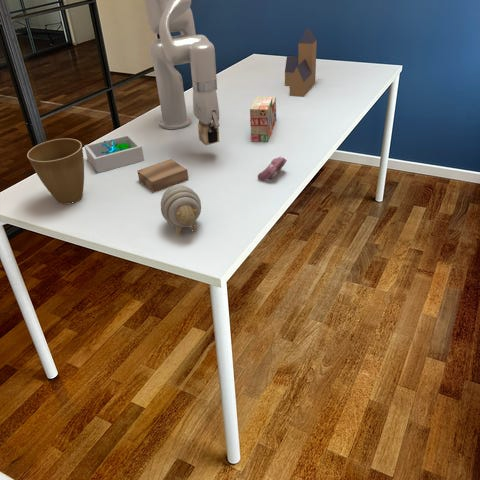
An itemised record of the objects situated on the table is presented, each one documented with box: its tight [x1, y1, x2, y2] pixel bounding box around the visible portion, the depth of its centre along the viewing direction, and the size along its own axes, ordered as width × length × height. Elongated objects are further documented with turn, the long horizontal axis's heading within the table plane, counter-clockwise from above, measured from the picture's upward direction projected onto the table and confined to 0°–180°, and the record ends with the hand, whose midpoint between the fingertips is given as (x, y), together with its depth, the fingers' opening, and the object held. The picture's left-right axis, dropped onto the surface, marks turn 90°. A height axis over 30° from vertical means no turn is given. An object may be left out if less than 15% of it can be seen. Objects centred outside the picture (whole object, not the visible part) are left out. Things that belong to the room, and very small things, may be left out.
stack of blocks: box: [249, 96, 277, 143], centre depth 176 cm, size 21×6×12 cm, turn 169°
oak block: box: [197, 120, 220, 146], centre depth 159 cm, size 5×5×6 cm
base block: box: [136, 158, 189, 194], centre depth 150 cm, size 10×12×4 cm
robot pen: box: [83, 134, 145, 174], centre depth 164 cm, size 13×16×5 cm
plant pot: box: [26, 137, 85, 205], centre depth 140 cm, size 15×15×16 cm
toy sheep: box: [160, 184, 202, 236], centre depth 126 cm, size 11×17×11 cm, turn 24°
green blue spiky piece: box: [102, 138, 130, 155], centre depth 166 cm, size 12×7×8 cm
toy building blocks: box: [284, 26, 318, 98], centre depth 209 cm, size 12×19×25 cm
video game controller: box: [257, 155, 288, 181], centre depth 148 cm, size 10×5×7 cm, turn 148°
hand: (209, 138), depth 160 cm, fingers closed on oak block, 5 cm apart
